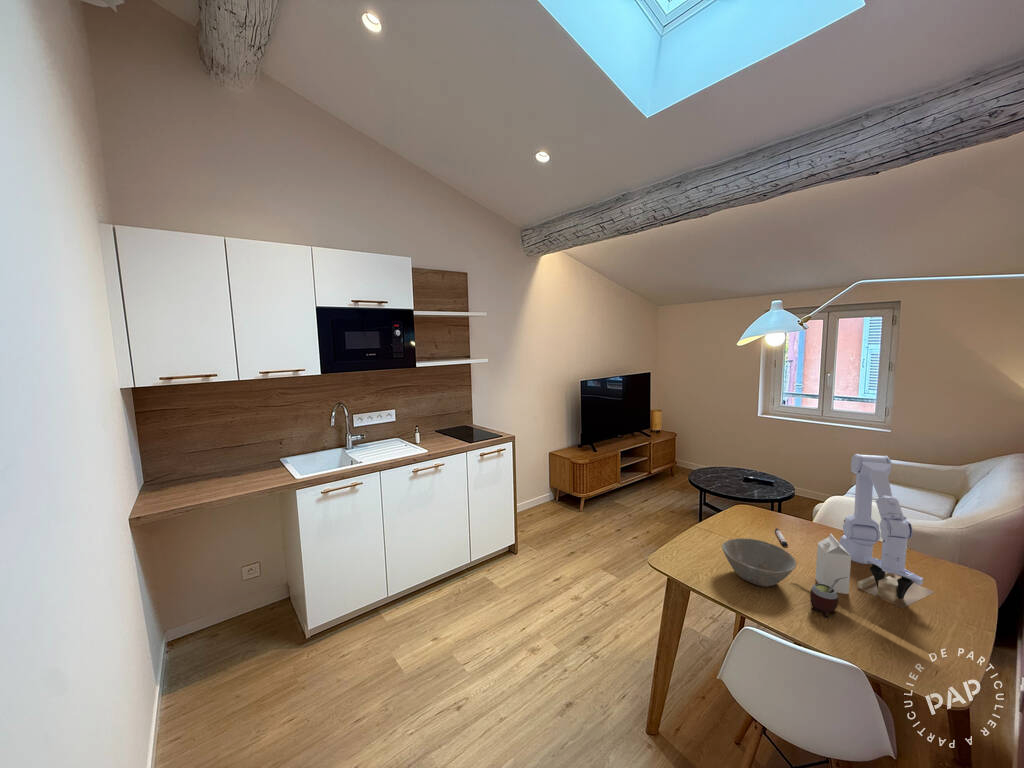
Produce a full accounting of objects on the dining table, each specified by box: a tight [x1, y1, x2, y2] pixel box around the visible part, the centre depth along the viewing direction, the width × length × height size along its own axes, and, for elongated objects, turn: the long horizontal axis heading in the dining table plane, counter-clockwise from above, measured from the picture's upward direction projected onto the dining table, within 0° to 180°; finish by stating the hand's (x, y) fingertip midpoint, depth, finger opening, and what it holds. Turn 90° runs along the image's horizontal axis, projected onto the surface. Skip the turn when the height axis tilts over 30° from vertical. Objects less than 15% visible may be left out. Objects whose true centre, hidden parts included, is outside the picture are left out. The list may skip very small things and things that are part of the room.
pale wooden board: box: [856, 572, 935, 610], centre depth 135 cm, size 12×20×4 cm, turn 112°
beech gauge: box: [878, 576, 899, 602], centre depth 132 cm, size 4×6×5 cm, turn 112°
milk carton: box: [815, 533, 852, 595], centre depth 137 cm, size 7×7×19 cm
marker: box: [774, 527, 789, 548], centre depth 174 cm, size 15×2×2 cm, turn 159°
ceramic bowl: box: [721, 537, 797, 588], centre depth 145 cm, size 22×23×10 cm
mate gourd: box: [809, 577, 847, 619], centre depth 127 cm, size 8×8×15 cm
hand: (890, 593), depth 132 cm, fingers open, 5 cm apart
